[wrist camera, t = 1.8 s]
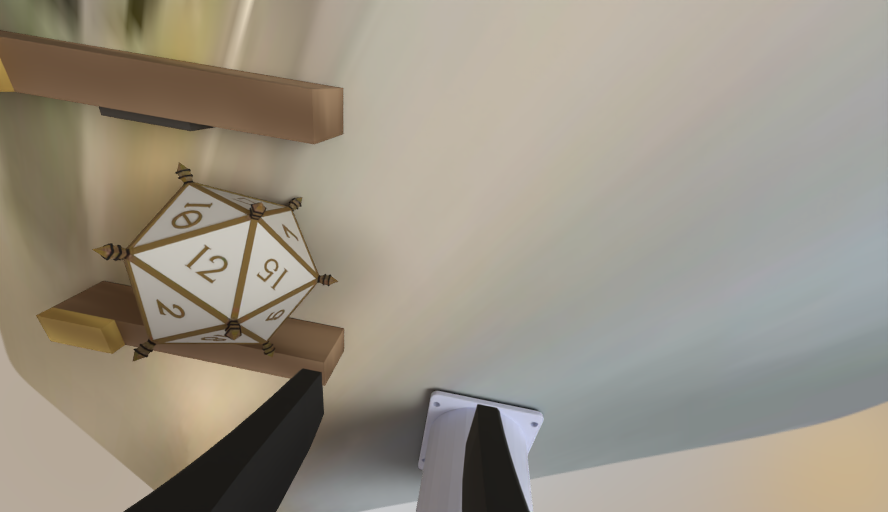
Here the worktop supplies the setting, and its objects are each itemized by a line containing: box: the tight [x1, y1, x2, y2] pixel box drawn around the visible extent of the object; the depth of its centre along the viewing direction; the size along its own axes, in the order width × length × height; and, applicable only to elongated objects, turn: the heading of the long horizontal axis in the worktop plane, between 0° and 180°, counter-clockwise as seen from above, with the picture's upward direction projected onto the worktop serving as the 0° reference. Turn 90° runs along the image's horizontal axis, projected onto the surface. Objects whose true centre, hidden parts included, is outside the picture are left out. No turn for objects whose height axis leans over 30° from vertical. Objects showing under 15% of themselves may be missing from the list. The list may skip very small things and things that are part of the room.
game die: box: [92, 163, 338, 361], centre depth 16 cm, size 9×8×10 cm
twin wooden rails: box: [0, 30, 344, 386], centre depth 18 cm, size 16×17×4 cm
